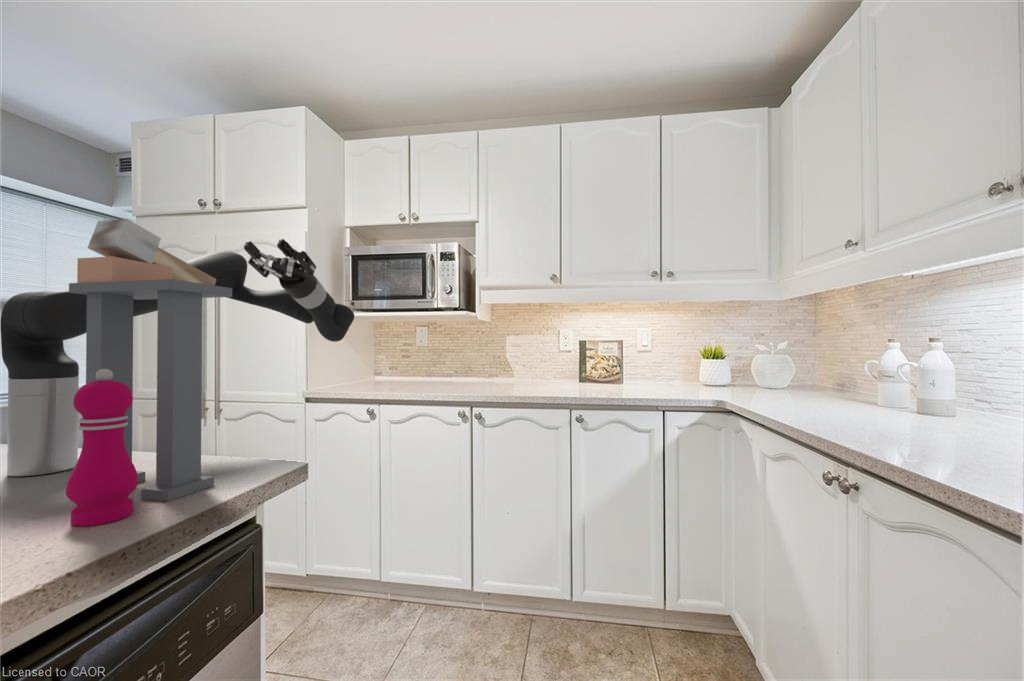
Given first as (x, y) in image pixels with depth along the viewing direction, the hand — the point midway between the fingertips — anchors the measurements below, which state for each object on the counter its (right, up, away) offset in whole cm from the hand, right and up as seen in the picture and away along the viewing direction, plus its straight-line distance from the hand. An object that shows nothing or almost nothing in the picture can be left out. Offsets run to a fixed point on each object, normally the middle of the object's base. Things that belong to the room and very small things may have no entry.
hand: (263, 242), depth 102 cm
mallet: (-8, -10, -19) cm, 23 cm away
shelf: (-4, -46, -27) cm, 53 cm away
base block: (-9, -13, -25) cm, 29 cm away
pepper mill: (0, -46, -40) cm, 61 cm away
